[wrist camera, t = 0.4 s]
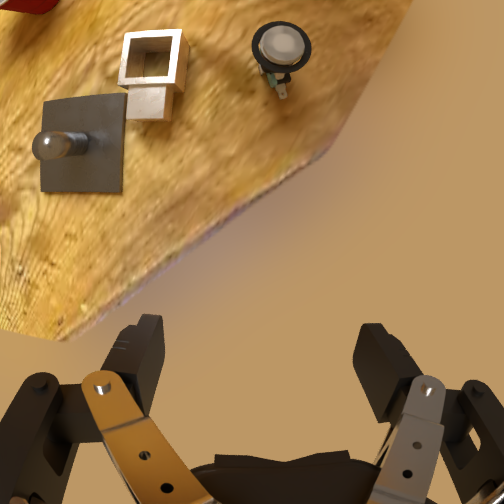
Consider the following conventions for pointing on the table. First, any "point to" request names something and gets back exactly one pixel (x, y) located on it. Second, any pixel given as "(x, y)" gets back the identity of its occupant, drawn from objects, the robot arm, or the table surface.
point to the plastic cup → (28, 5)
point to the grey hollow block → (152, 88)
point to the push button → (280, 52)
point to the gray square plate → (82, 144)
